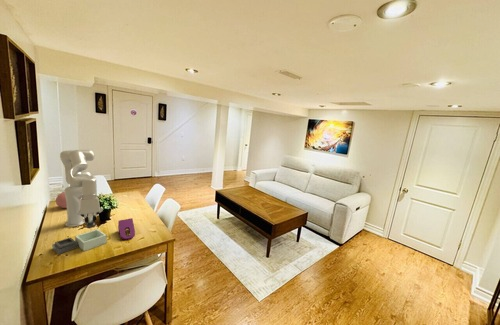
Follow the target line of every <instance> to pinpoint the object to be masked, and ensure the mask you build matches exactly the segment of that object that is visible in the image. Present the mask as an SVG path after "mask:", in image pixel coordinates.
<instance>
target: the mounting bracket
mask: <svg viewBox="0 0 500 325" xmlns="http://www.w3.org/2000/svg"><path fill="white" fill-rule="evenodd" d="M117 224H118V227H117V228H118V230H117V231H118V234H119V236H120V239H122V240H123V241H128V240H132V239H133V238H134V237H135V235H136V230H135V226H134V225H135V224H134V219H133V218H126V219H121V220H118V223H117ZM126 230H128V232H129V235H126Z"/></svg>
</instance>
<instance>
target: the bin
mask: <svg viewBox="0 0 500 325" xmlns="http://www.w3.org/2000/svg"><path fill="white" fill-rule="evenodd" d="M107 239H108V238H107V234H106V233H104V232H102V231H101V230H100V229H98V228H97V229H93V230H90V231H87V232H84V233H80V234H78V235H75V236H74V240H75V241H76V242H77V243H78V249H81V250H82V251H83V252H86V251H88V250H92V249H94V248H97V247H99V246H102V245H105V244H107V243H108V242H107V241H108V240H107Z"/></svg>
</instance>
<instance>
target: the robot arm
mask: <svg viewBox="0 0 500 325" xmlns="http://www.w3.org/2000/svg"><path fill="white" fill-rule="evenodd" d="M59 155H60V156H59V157H60V161H61V163H62V164H63V167H64V175H65V182H66V184H68V185H69V186H67V187H65V188H64V193H65V197H66V203H67V208H66V216H67V221H66V222H65V224H64V225H65V227H67V228H71V227H74V228H75V227H78V226H82V225H84V224H85V225H86V224H87V214H90V213H94V222H95V223H96V221H97V217H98V215H99V214H100V213H102V212H104V211H103V209H102V207H101V206H100V200H99V197H98V196H97V195H98V194H97V190H98V188H97V178H96V176H95V175H93V174H92V173H91V171H87V170H86V169H88V166H89V163H88V162H89V161H90V162H91V161H94V159H95V153H94V151H93V150H91V149H74V150H73V149H70V150H63V151H61V152H60V153H59ZM78 197H81V199H79V198H78Z"/></svg>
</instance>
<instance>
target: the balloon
mask: <svg viewBox="0 0 500 325" xmlns="http://www.w3.org/2000/svg"><path fill="white" fill-rule="evenodd" d="M78 198H79V199H80V200H81V199H82V198H81V197H78ZM55 204H56V206H57V207H59V208H62V209H67V203H66V197H65V193H64V192H61V193H59V194H58V195H57V196H56V199H55Z"/></svg>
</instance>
